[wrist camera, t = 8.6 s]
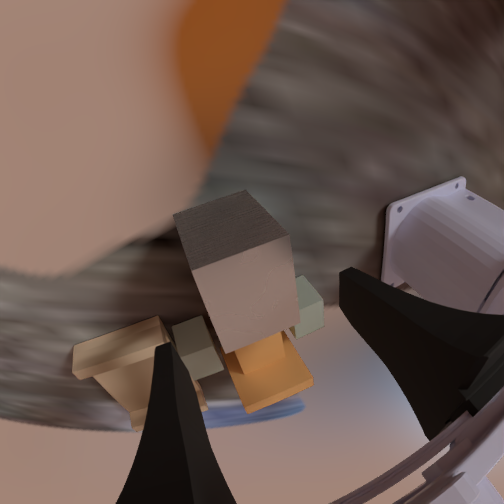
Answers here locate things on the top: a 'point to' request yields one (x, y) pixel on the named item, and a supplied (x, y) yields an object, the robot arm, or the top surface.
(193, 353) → the socket
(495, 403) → the robot arm
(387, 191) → the top surface
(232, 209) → the grey block
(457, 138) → the top surface
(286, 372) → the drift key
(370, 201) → the top surface
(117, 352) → the tan flat bracket
